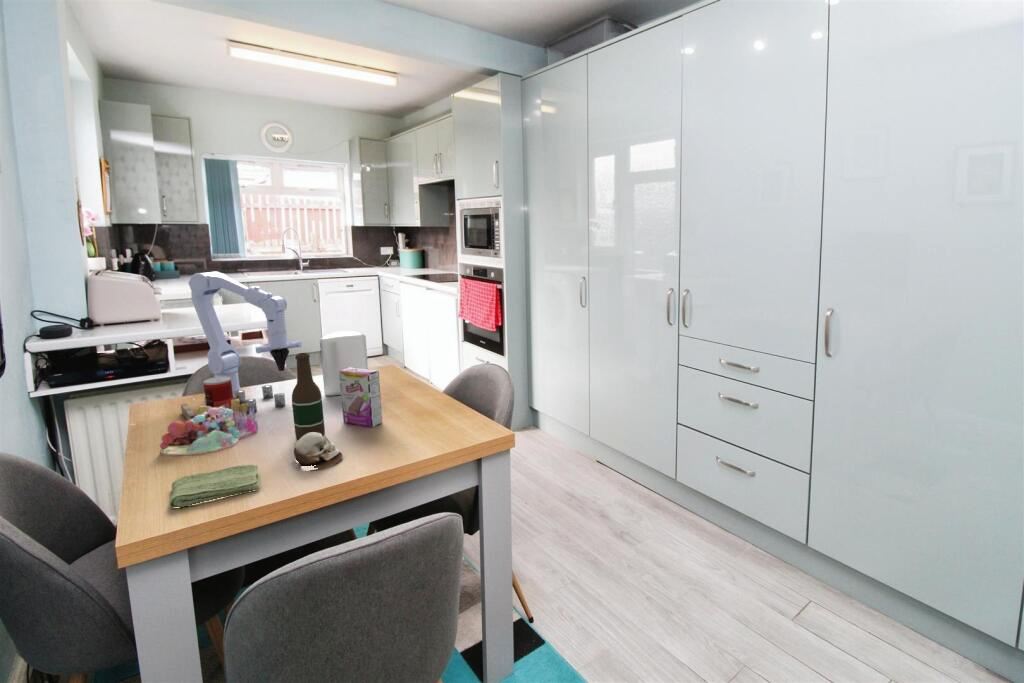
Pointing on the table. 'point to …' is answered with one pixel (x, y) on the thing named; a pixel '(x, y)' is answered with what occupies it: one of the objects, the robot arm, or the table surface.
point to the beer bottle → (306, 400)
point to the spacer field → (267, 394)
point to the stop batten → (187, 412)
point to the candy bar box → (361, 396)
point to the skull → (316, 451)
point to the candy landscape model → (209, 430)
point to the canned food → (218, 391)
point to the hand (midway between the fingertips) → (281, 370)
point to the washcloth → (214, 485)
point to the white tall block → (341, 357)
